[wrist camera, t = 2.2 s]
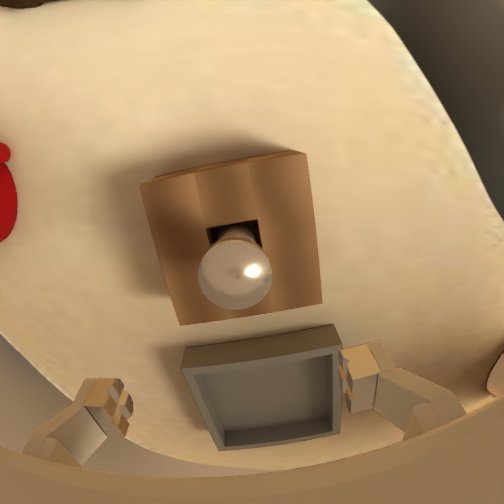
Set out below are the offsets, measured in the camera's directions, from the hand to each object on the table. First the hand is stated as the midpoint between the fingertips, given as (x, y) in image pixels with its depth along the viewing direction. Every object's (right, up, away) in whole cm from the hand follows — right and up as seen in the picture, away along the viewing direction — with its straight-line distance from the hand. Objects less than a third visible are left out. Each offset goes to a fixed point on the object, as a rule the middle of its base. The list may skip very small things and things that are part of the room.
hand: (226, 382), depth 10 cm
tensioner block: (0, +7, +17) cm, 18 cm away
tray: (+3, -12, +24) cm, 27 cm away
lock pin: (0, +6, +16) cm, 18 cm away
